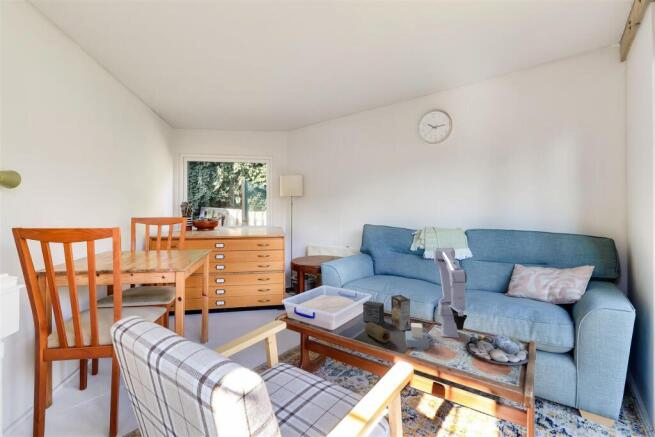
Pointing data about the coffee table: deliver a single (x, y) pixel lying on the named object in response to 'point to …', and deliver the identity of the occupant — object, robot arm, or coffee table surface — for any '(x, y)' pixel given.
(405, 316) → the coffee box
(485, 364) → the coffee table surface
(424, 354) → the coffee table surface
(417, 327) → the cube
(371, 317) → the small box
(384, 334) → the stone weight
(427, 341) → the base block
